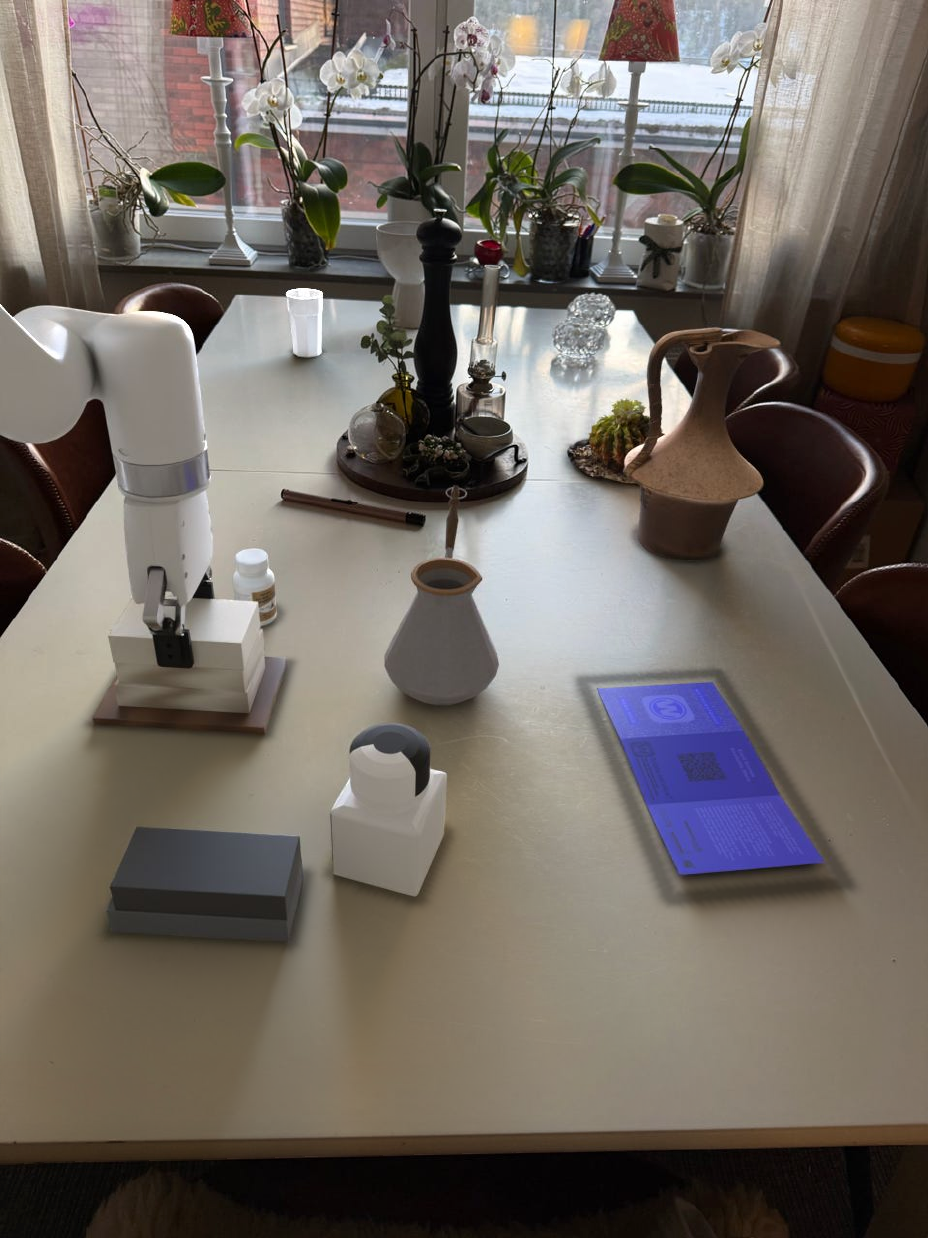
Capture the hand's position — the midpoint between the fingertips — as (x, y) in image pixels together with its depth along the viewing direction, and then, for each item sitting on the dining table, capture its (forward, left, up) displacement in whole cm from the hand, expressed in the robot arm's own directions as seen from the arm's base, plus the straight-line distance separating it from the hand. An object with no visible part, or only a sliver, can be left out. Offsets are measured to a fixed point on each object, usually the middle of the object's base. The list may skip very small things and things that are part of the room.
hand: (188, 639), depth 88 cm
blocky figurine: (+21, -19, -7) cm, 29 cm away
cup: (-7, +104, -7) cm, 104 cm away
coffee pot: (+24, +9, -7) cm, 26 cm away
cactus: (+48, +61, -7) cm, 78 cm away
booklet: (+48, -7, -7) cm, 49 cm away
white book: (0, 0, -1) cm, 1 cm away
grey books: (+8, -25, -7) cm, 27 cm away
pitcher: (+53, +37, -7) cm, 65 cm away
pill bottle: (+3, +14, -7) cm, 16 cm away
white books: (0, 0, -7) cm, 7 cm away
